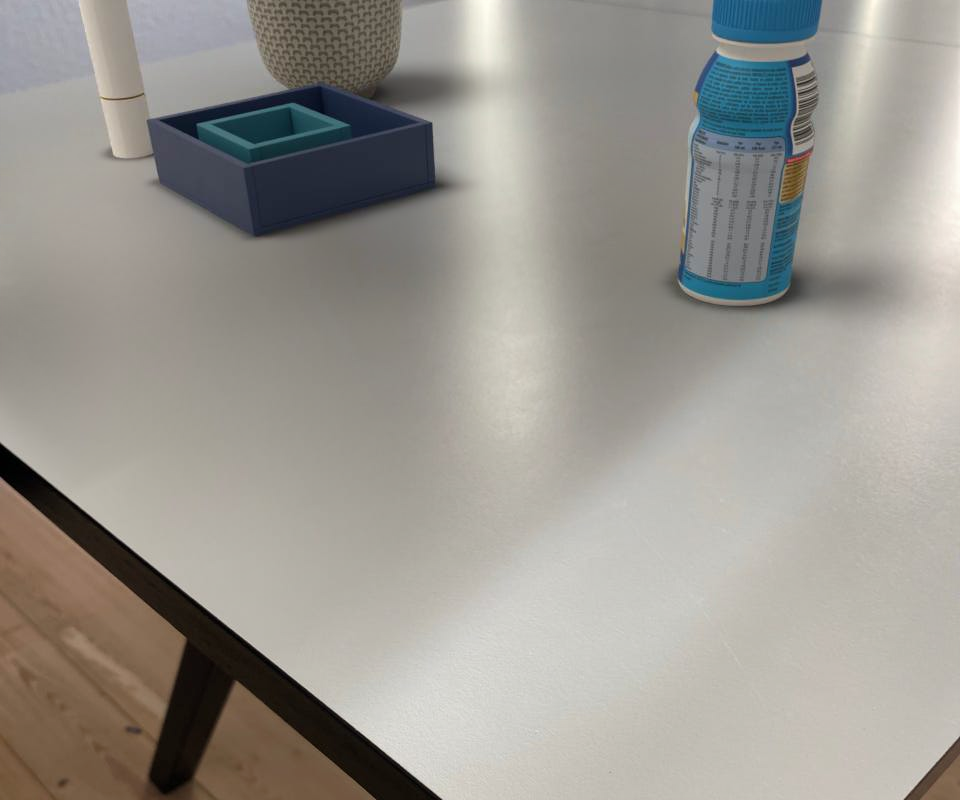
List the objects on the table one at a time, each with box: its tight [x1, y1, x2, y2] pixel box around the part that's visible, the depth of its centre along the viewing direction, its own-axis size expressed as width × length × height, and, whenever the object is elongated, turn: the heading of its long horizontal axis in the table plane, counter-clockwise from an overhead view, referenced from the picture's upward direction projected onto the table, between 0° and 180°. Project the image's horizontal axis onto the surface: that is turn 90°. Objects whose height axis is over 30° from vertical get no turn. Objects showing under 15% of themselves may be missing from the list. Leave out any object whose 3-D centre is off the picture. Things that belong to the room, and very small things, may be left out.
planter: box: [245, 0, 404, 100], centre depth 121 cm, size 17×17×16 cm
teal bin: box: [197, 103, 352, 164], centre depth 100 cm, size 10×10×5 cm
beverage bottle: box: [677, 0, 823, 307], centre depth 76 cm, size 8×8×20 cm
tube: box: [77, 0, 154, 159], centre depth 108 cm, size 4×4×15 cm
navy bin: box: [147, 83, 437, 238], centre depth 101 cm, size 19×19×6 cm
